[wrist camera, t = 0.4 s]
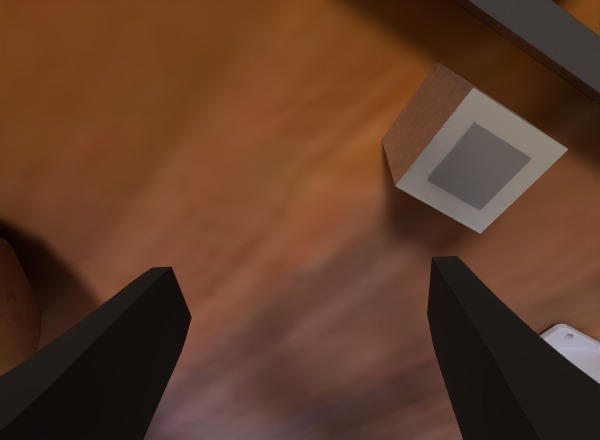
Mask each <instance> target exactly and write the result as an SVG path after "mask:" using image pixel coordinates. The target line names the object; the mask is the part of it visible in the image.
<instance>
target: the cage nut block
mask: <svg viewBox="0 0 600 440" xmlns="http://www.w3.org/2000/svg"><path fill="white" fill-rule="evenodd" d="M382 142H383V146H384V149H385V152H386V156H387V159H388V163H389V166H390V170H391V173H392V177H393V180H394V184H395V186H396V187H397V188H399V189H401V190H403V191H405V192H406V193H408V194H410V195H412V196H414V197H415V198H417V199H419V200H421V201H423V202H424V203H426V204H428V205H430V206H432V207H433V208H435V209H437V210H439V211H440V212H442V213H444V214H446V215H448V216H449V217H451V218H453V219H455V220H457V221H458V222H460V223H462V224H464V225H466V226H467V227H469V228H471V229H473V230H475V231H476V232H478V233H480V234H481V233H482V232H483V231H484V230H485V229H486V228H487V227H488V226H489V225H490V224H491V223H492V222H493V221H494V220H495V219H496V218H497V217H498V216H499V215H500V214H501V213H502V212H504V211H505V210H506V209H507V208H508V207H509V206H510V205H511V204H512V203H513V202H514V201H515V200H516V199H517V198H518V197H519V196H520V195H521V194H522V193H523V192H524V191H525V190H526V189H527V188H529V187H530V186H531V185H532V184H533V183H534V182H535V181H536V180H537V179H538V178H539V177H540V176H541V175H542V174H543V173H544V172H545V171H546V170H547V169H548V168H549V167H550V166H551V165H552V164H554V163H555V162H556V161H557V160H558V159H559V158H560V157H561V156H562V155H563V154H564V153H565V152H566V151H567V150H568V149H567V148H566V147H564V146H563V145H561V144H560V143H558V142H557V141H555V140H554V139H553V138H551V137H550V136H548V135H547V134H545V133H544V132H542V131H541V130H539V129H538V128H537V127H535V126H534V125H532V124H531V123H529V122H528V121H526V120H525V119H524V118H522V117H521V116H519V115H518V114H516V113H515V112H513V111H512V110H510V109H509V108H508V107H506V106H504V105H503V104H501V103H500V102H498V101H497V100H495V99H494V98H492V97H491V96H489V95H488V94H486V93H485V92H483V91H482V90H480V89H478V88H477V87H475V86H474V85H472V84H471V83H469V82H468V81H466V80H465V79H463V78H462V77H460V76H459V75H457V74H455V73H454V72H452V71H451V70H449V69H448V68H446V67H445V66H443V65H442V64H440V63H439V62H436V63H435V65H434V66H433V68H432V69H431V70H430V72H429V73H428V75H427V76H426V77H425V79H424V80H423V82H422V83H421V85H420V86H419V87H418V89H417V90H416V92H415V93H414V94H413V96H412V97H411V99H410V100H409V102H408V103H407V104H406V106H405V107H404V109H403V110H402V111H401V113H400V114H399V116H398V117H397V119H396V120H395V121H394V123H393V124H392V126H391V127H390V128H389V130H388V131H387V133H386V134H385V136H384V137H383V138H382Z"/></svg>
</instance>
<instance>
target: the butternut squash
mask: <svg viewBox="0 0 600 440" xmlns="http://www.w3.org/2000/svg"><path fill="white" fill-rule="evenodd" d="M41 316H42V312H41V310H40V307H39V305H38V302H37V299H36V297H35V295H34V293H33V291H32V288H31V286H30V284H29V282H28V280H27V277H26V275H25V273H24V271H23V269H22V266H21V264H20V262H19V260H18V257H17V255H16V253H15V251H14V249H13V247H12V246H11V245H10V244H9V243H8V242H7V241H6V240H5V239H2V238H0V376H2V375H3V374H5V373H6V372H8V371H9V370H11V369H13V368H14V367H16V366H17V365H19V364H21V363H22V362H24V361H25V360H27V359H28V358H30V357H31V356H33V355H34V354H35V352H36V349H37V345H38V342H39V338H40V329H41Z"/></svg>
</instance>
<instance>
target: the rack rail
mask: <svg viewBox="0 0 600 440" xmlns="http://www.w3.org/2000/svg"><path fill="white" fill-rule="evenodd" d="M451 1H453V2H454V3H456V4H457V5H459V6H460V7H461V8H463V9H464V10H466V11H467V12H469V13H470V14H471V15H473V16H474V17H476V18H477V19H479V20H480V21H481V22H483V23H484V24H486V25H487V26H489V27H490V28H491V29H493V30H494V31H496V32H497V33H499V34H500V35H501V36H503V37H504V38H506V39H507V40H509V41H510V42H511V43H513V44H514V45H516V46H517V47H519V48H520V49H521V50H523V51H524V52H526V53H527V54H529V55H530V56H531V57H533V58H534V59H536V60H537V61H539V62H540V63H541V64H543V65H544V66H546V67H547V68H549V69H550V70H551V71H553V72H554V73H556V74H557V75H559V76H560V77H561V78H563V79H564V80H566V81H567V82H569V83H570V84H571V85H573V86H574V87H576V88H577V89H579V90H580V91H581V92H583V93H584V94H586V95H587V96H589V97H590V98H592V99H593V100H594V101H596V102H597V103H599V104H600V36H598V35H597V34H596V33H594V32H593V31H592V30H590V29H589V28H588V27H586V26H585V25H584V24H582V23H581V22H580V21H578V20H577V19H576V18H574V17H573V16H572V15H570V14H569V13H568V12H566V11H565V10H564V9H562V8H561V7H560V6H558V5H557V4H556V3H554V2H553V1H552V0H451Z"/></svg>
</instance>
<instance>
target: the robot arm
mask: <svg viewBox="0 0 600 440" xmlns="http://www.w3.org/2000/svg"><path fill="white" fill-rule="evenodd" d="M427 315H428V320H429V326H430V331H431V336H432V341H433V346H434V350H435V354H436V357H437V360H438V363H439V366H440V369H441V373H442V376H443V379H444V382H445V385H446V388H447V391H448V394H449V397H450V400H451V404H452V407H453V410H454V413H455V416H456V419H457V422H458V425H459V428H460V431H461V434H462V438H463V440H600V342H598V341H596V340H594V339H593V338H591V337H589V336H587V335H585V334H583V333H581V332H579V331H577V330H576V329H574V328H572V327H570V326H568V325H566V324H557V325H555V326H553V327H552V328H550V329H549V330H547V331H546V332H544V333H543V334H542V335H540V336H539V335H538V334H537V333H536V332H535V331H533V330H532V329H531V328H530V327H529V326H528V325H527V324H526V323H524V322H523V321H522V320H521V319H520V318H519V317H518V316H517V315H516V314H515V313H514V312H513V311H512V310H511V309H509V308H508V307H507V306H506V305H505V304H504V303H503V302H502V301H501V300H500V299H499V298H498V297H497V296H496V295H495V294H494V293H493V292H492V291H491V290H490V289H489V288H488V287H487V286H486V285H485V284H484V283H483V282H482V281H481V280H480V279H479V278H478V277H477V276H476V275H475V274H474V273H473V272H472V271H471V270H470V269H469V268H468V267H467V266H466V265H465V264H464V263H463V262H462V260H460V259H459V258H458V257H457V256H448V257H432V263H431V274H430V286H429V298H428V310H427ZM191 318H192V317H191V314H190V312H189V309H188V307H187V304H186V302H185V299H184V297H183V294H182V292H181V289H180V287H179V284H178V282H177V279H176V277H175V274H174V272H173V269H172V267H156V268H151V269H149V270H148V271H146V272H145V273H143V274H142V275H141V276H139V277H138V278H137V279H135V280H134V281H133V282H131V283H130V284H129V285H127V286H126V287H125V288H123V289H122V290H121V291H120V292H118V293H117V294H116V295H114V296H113V297H112V298H111V299H109V300H108V301H107V302H105V303H104V304H103V305H101V306H100V307H99V308H98V309H96V310H95V311H94V312H92V313H91V314H90V315H88V316H87V317H86V318H84V319H83V320H82V321H80V322H79V323H78V324H76V325H75V326H74V327H72V328H71V329H69V330H68V331H67V332H65V333H64V334H62V335H61V336H60V337H58V338H57V339H56V340H54V341H53V342H51V343H50V344H49V345H47V346H46V347H44V348H43V349H42V350H40V351H39V352H37V353H36V354H34V355H33V356H31V357H30V358H28V359H27V360H25V361H24V362H22V363H21V364H19V365H17V366H16V367H14V368H13V369H11V370H9V371H8V372H6V373H5V374H3V375H2V376H0V440H143V439H144V437H145V434H146V432H147V429H148V427H149V424H150V422H151V420H152V418H153V415H154V413H155V411H156V409H157V406H158V404H159V402H160V400H161V397H162V395H163V393H164V391H165V388H166V386H167V384H168V382H169V379H170V377H171V375H172V373H173V370H174V368H175V366H176V363H177V361H178V359H179V356H180V354H181V352H182V349H183V346H184V342H185V339H186V336H187V332H188V329H189V325H190V321H191Z"/></svg>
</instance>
